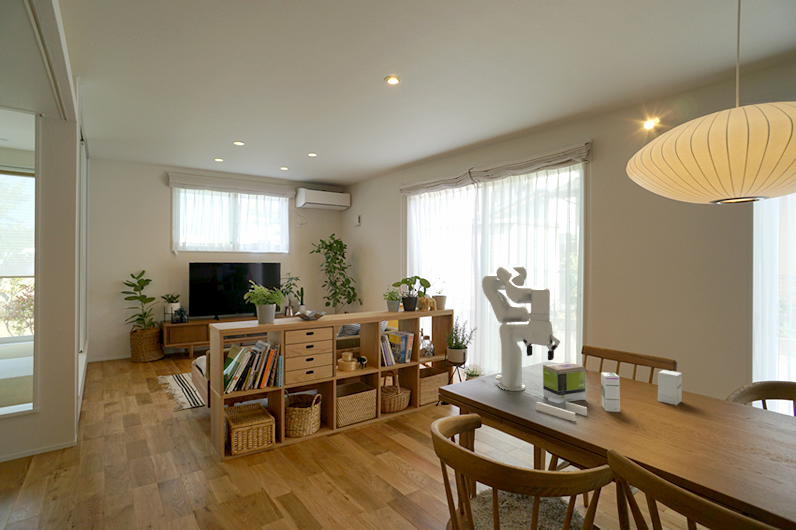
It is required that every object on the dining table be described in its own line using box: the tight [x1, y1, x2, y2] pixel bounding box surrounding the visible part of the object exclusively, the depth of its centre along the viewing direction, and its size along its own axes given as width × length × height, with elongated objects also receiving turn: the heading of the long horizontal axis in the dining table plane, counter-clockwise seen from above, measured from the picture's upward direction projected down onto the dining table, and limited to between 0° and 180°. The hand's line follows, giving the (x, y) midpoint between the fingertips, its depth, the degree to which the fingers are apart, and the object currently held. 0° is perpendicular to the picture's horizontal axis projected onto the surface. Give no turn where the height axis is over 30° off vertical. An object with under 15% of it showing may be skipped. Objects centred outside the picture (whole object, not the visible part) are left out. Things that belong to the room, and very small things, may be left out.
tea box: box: [542, 361, 587, 403], centre depth 179 cm, size 15×10×15 cm, turn 108°
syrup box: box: [600, 372, 621, 413], centre depth 165 cm, size 6×6×14 cm
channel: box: [535, 397, 588, 422], centre depth 162 cm, size 16×10×3 cm, turn 39°
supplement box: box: [657, 369, 683, 406], centre depth 175 cm, size 7×7×13 cm
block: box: [546, 397, 565, 410], centre depth 163 cm, size 5×5×4 cm
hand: (539, 357), depth 170 cm, fingers open, 9 cm apart
